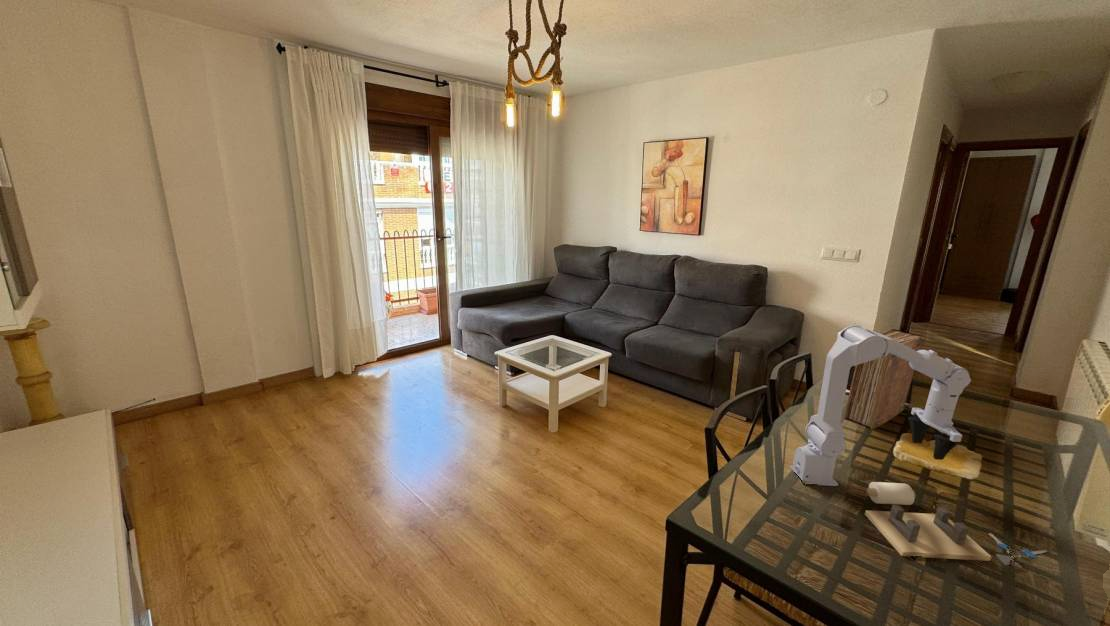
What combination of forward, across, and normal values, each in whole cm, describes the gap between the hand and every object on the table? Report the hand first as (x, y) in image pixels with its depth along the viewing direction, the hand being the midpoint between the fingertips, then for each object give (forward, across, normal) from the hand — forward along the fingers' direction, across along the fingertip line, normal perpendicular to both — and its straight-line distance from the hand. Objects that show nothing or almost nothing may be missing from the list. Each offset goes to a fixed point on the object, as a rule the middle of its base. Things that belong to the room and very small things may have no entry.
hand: (927, 450), depth 121 cm
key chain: (+11, -23, -3) cm, 26 cm away
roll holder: (+10, -21, +14) cm, 27 cm away
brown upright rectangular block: (+10, +39, -13) cm, 42 cm away
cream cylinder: (+8, -9, +14) cm, 18 cm away
